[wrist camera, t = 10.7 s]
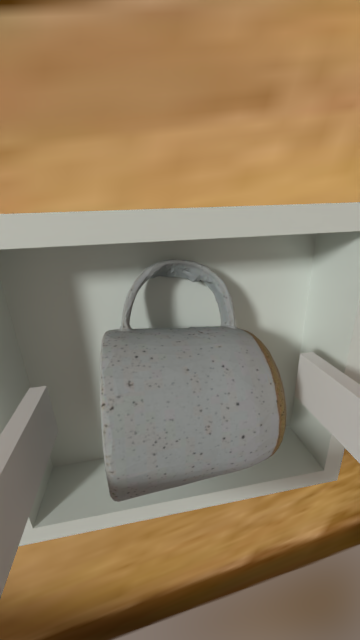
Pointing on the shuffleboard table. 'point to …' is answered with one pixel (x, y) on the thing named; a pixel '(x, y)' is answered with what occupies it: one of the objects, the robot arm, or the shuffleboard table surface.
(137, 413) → the ceramic mug
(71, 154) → the shuffleboard table surface
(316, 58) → the shuffleboard table surface
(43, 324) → the bin
